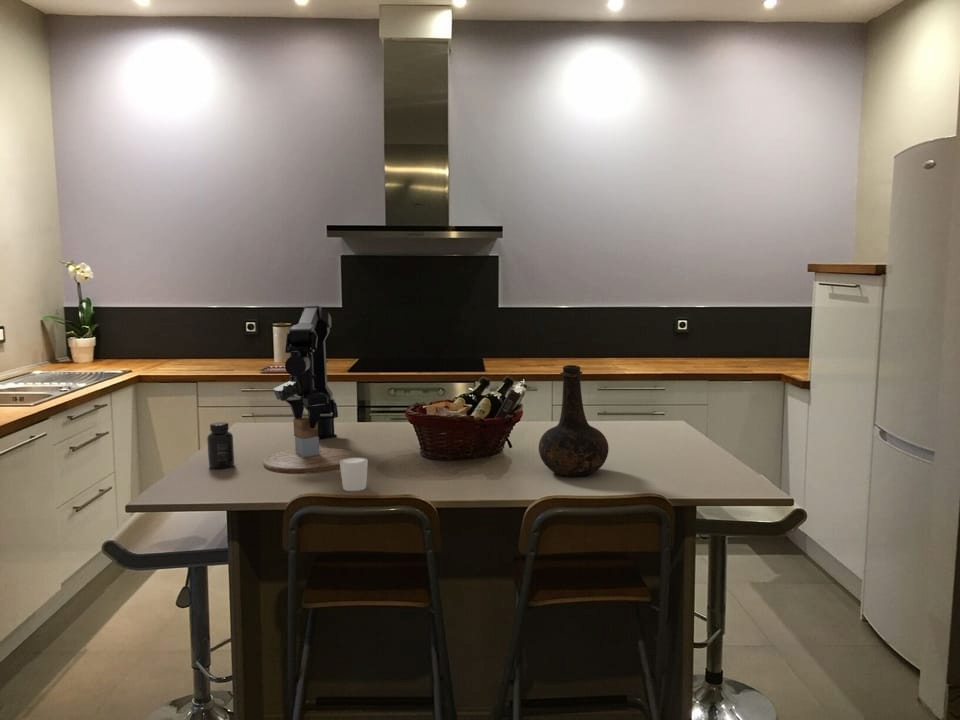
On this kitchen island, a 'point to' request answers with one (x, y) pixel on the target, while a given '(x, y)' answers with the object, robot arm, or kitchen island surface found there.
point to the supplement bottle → (220, 446)
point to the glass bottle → (573, 434)
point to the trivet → (306, 461)
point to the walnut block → (304, 428)
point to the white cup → (354, 473)
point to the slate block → (307, 446)
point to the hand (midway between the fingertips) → (305, 425)
